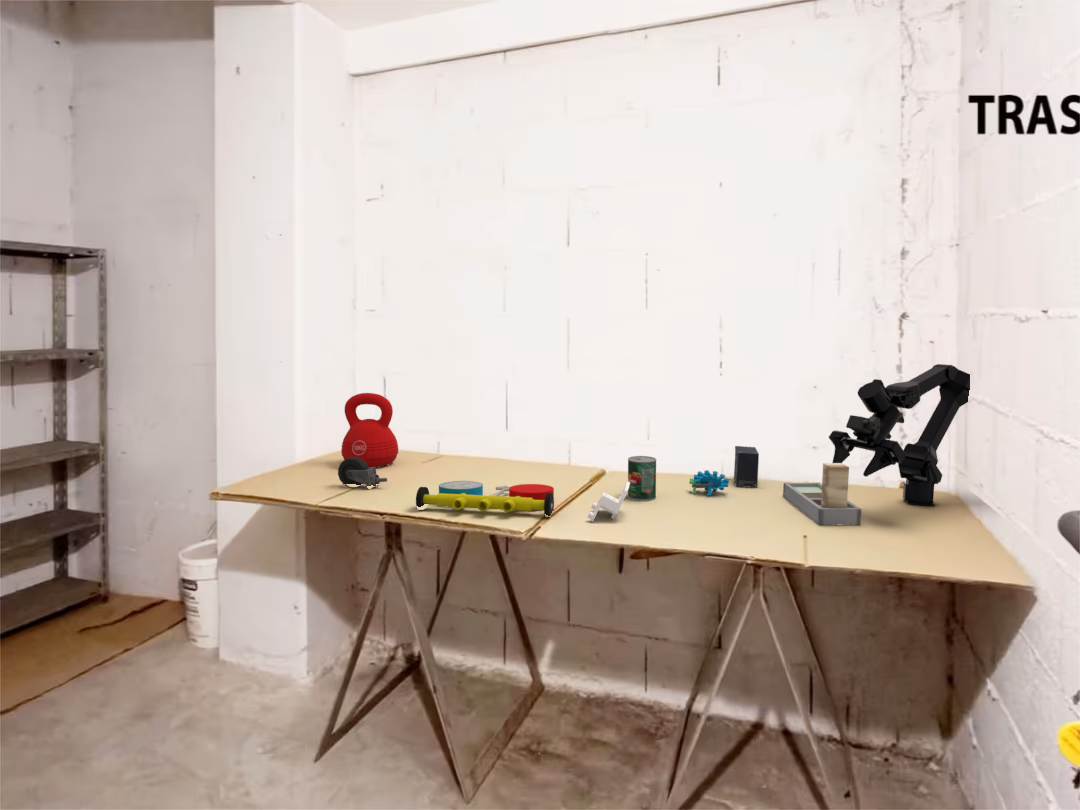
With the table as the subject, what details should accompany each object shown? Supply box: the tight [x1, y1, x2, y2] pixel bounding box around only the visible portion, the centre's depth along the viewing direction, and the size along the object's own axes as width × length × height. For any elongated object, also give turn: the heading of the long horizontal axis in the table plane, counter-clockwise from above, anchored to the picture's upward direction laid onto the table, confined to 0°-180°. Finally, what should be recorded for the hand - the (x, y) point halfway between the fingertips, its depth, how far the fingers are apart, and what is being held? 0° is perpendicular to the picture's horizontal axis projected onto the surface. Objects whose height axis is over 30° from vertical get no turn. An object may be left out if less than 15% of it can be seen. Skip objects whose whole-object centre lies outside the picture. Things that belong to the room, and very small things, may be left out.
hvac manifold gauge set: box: [415, 480, 555, 516], centre depth 188 cm, size 36×6×25 cm
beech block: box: [821, 462, 850, 508], centre depth 170 cm, size 4×4×11 cm
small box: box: [733, 445, 760, 488], centre depth 208 cm, size 11×6×10 cm, turn 168°
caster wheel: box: [337, 457, 388, 487], centre depth 206 cm, size 6×10×15 cm
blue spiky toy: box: [688, 470, 730, 497], centre depth 196 cm, size 11×6×10 cm
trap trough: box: [782, 482, 862, 526], centre depth 180 cm, size 26×10×4 cm, turn 179°
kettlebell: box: [341, 392, 399, 468], centre depth 236 cm, size 19×19×25 cm
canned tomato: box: [627, 455, 657, 502], centre depth 193 cm, size 8×8×11 cm
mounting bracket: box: [587, 480, 630, 523], centre depth 175 cm, size 12×6×11 cm, turn 169°
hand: (848, 471), depth 172 cm, fingers open, 9 cm apart
